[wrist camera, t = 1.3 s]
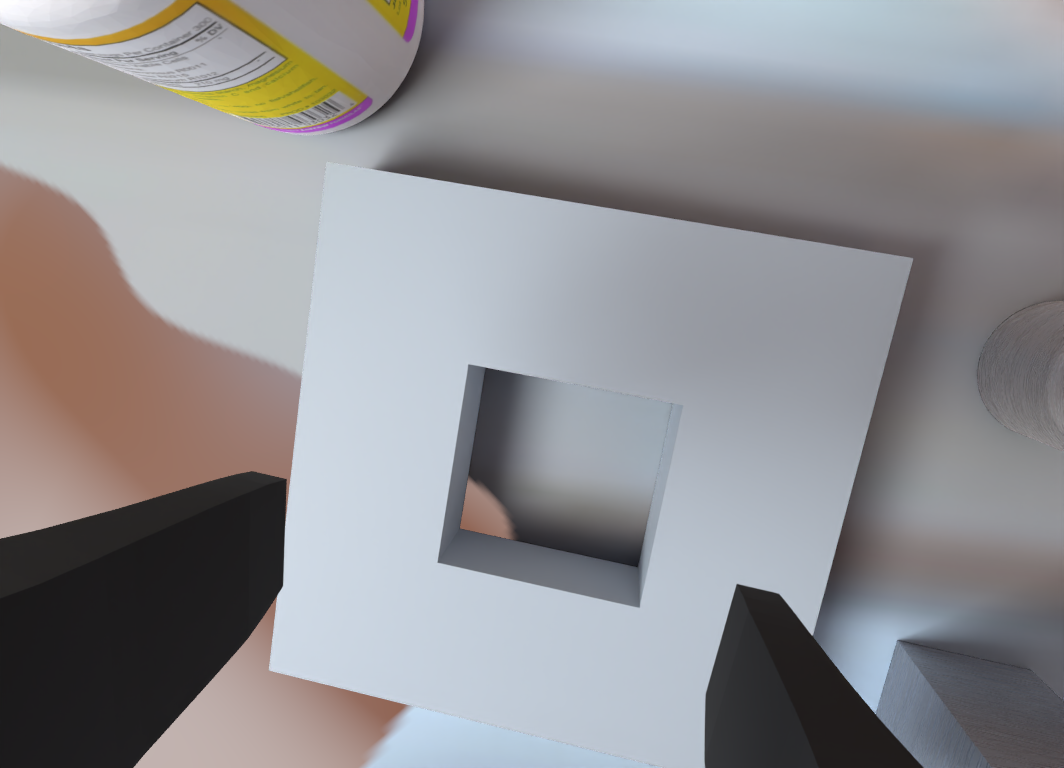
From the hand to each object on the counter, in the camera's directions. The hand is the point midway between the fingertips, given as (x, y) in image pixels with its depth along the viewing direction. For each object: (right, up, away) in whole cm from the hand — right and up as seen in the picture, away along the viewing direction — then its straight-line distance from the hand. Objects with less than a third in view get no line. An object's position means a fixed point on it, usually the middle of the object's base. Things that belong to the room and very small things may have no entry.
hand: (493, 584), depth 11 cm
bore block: (+1, +1, +9) cm, 9 cm away
